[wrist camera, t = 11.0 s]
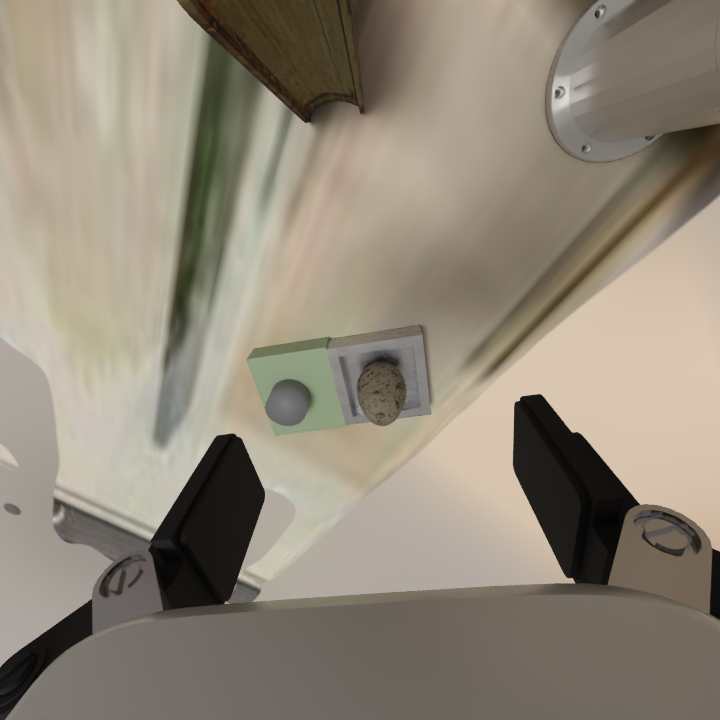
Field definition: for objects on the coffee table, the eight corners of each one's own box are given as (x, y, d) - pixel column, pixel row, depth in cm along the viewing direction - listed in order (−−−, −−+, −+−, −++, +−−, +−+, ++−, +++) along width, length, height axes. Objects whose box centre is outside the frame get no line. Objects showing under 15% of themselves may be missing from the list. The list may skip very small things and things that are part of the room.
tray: (419, 325, 42) (422, 334, 39) (427, 401, 47) (431, 414, 44) (329, 339, 43) (326, 349, 40) (347, 411, 48) (345, 425, 45)
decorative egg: (353, 386, 45) (348, 436, 36) (364, 348, 43) (361, 391, 34) (396, 396, 46) (401, 447, 37) (409, 358, 43) (418, 404, 34)
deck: (328, 337, 43) (322, 358, 37) (347, 413, 48) (344, 441, 43) (254, 348, 44) (237, 371, 39) (280, 422, 49) (269, 450, 44)
